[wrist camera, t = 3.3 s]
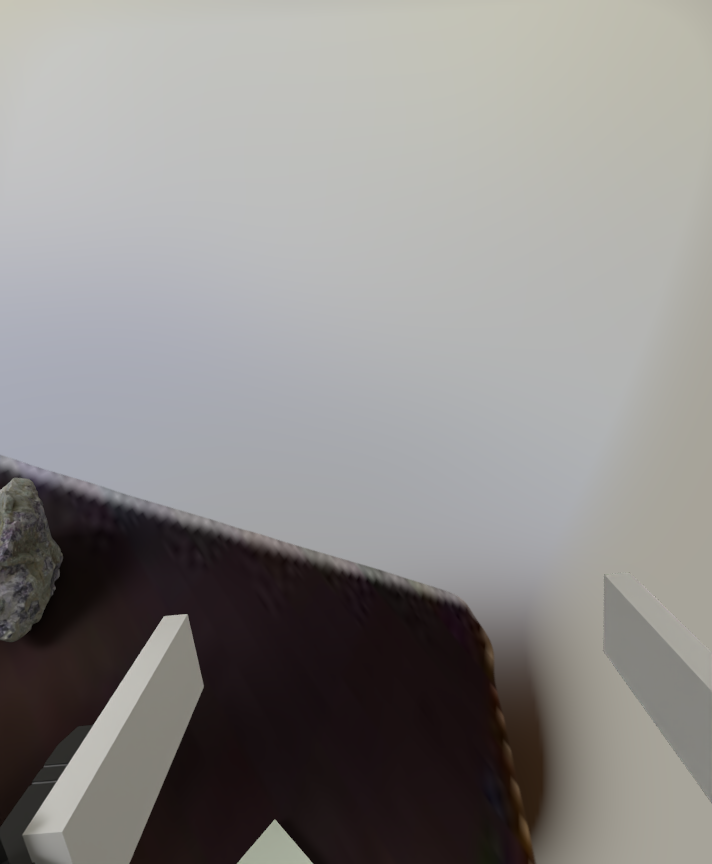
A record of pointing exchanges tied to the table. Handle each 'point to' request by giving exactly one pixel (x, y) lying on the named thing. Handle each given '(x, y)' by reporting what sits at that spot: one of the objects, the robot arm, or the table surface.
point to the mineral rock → (24, 559)
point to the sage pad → (274, 849)
